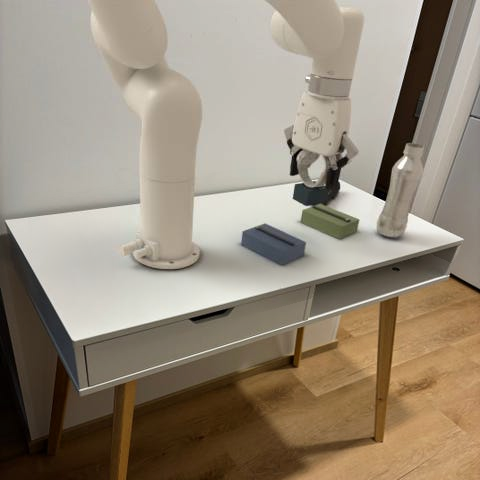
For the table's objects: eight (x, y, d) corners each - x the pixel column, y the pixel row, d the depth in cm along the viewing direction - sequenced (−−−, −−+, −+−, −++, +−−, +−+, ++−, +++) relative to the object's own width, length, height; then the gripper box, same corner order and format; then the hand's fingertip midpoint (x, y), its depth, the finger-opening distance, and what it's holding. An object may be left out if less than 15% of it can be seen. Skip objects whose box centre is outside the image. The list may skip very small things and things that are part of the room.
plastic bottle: (368, 230, 112) (392, 141, 101) (390, 227, 115) (415, 140, 104) (387, 242, 108) (414, 150, 96) (409, 239, 111) (438, 149, 99)
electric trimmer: (342, 193, 132) (345, 182, 131) (324, 209, 120) (326, 197, 119) (329, 190, 134) (332, 178, 132) (309, 205, 122) (312, 193, 120)
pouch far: (339, 239, 107) (343, 224, 105) (300, 222, 113) (302, 207, 110) (356, 231, 111) (360, 216, 109) (317, 215, 117) (320, 201, 115)
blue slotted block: (282, 265, 94) (284, 248, 92) (240, 244, 100) (242, 228, 98) (303, 255, 98) (307, 239, 96) (263, 236, 104) (265, 220, 102)
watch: (306, 192, 105) (315, 139, 99) (332, 205, 100) (343, 150, 93) (286, 195, 102) (294, 141, 96) (311, 209, 97) (322, 153, 91)
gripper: (279, 79, 91) (268, 171, 101) (359, 98, 82) (337, 198, 91) (304, 77, 96) (290, 166, 105) (381, 95, 86) (359, 190, 96)
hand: (312, 180), depth 98 cm, fingers closed on watch, 8 cm apart
